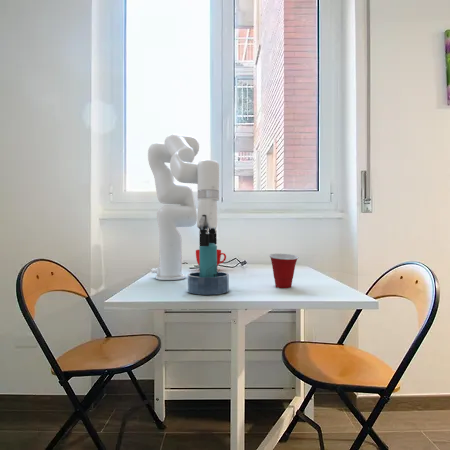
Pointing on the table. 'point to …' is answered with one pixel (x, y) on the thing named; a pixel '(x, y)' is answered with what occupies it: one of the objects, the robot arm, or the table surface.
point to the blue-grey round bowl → (208, 284)
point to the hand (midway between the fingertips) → (208, 245)
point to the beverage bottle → (208, 259)
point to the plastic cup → (283, 269)
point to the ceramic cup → (217, 257)
